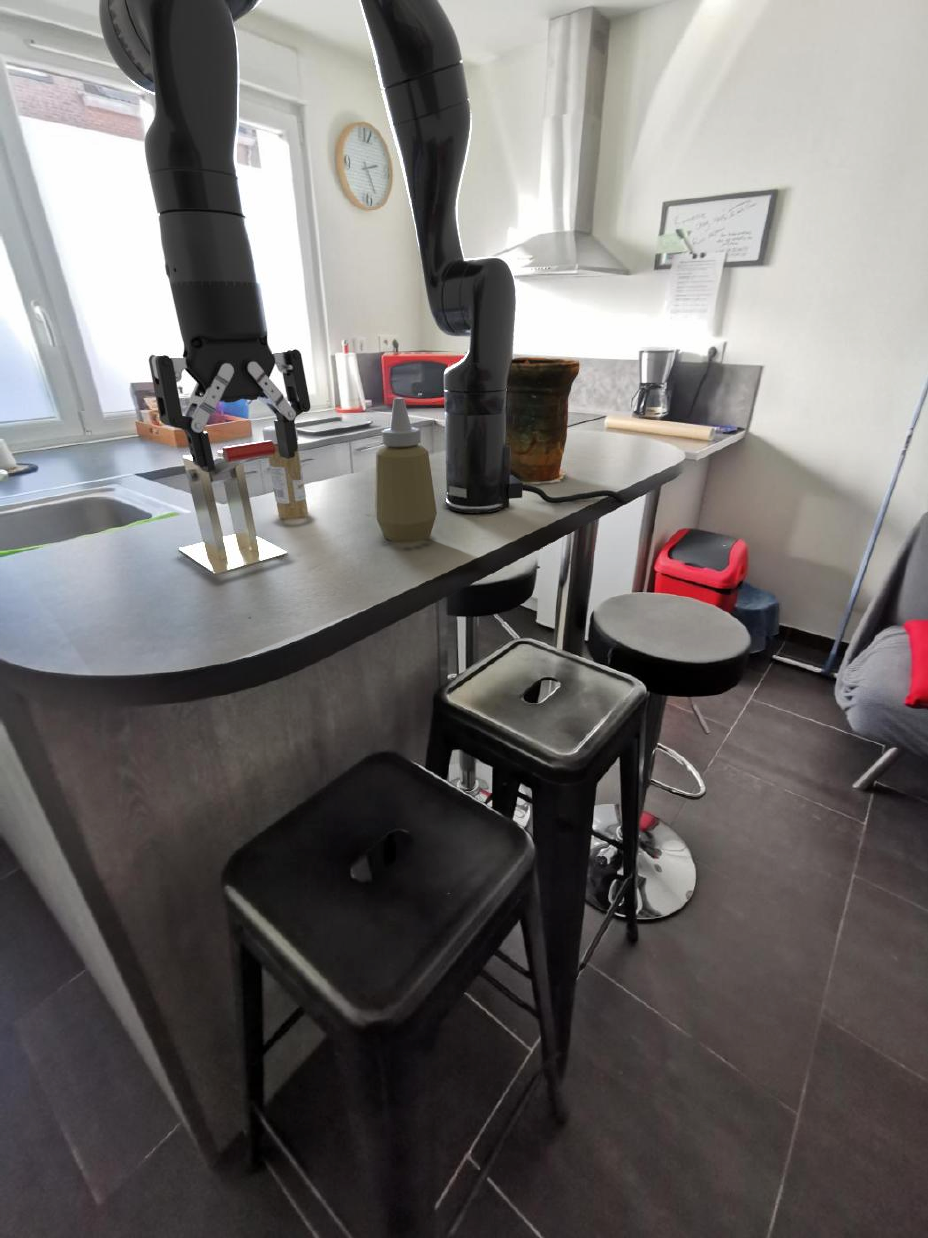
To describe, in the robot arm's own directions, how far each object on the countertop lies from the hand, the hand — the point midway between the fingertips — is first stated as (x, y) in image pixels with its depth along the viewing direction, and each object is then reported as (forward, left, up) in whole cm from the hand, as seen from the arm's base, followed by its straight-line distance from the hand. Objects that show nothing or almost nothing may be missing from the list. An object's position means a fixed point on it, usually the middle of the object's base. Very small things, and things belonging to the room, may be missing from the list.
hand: (249, 463), depth 58 cm
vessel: (-45, -38, -14) cm, 60 cm away
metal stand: (+5, -9, -13) cm, 17 cm away
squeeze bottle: (-17, -10, -14) cm, 24 cm away
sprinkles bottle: (-2, -23, -14) cm, 26 cm away
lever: (+2, -4, -2) cm, 5 cm away
